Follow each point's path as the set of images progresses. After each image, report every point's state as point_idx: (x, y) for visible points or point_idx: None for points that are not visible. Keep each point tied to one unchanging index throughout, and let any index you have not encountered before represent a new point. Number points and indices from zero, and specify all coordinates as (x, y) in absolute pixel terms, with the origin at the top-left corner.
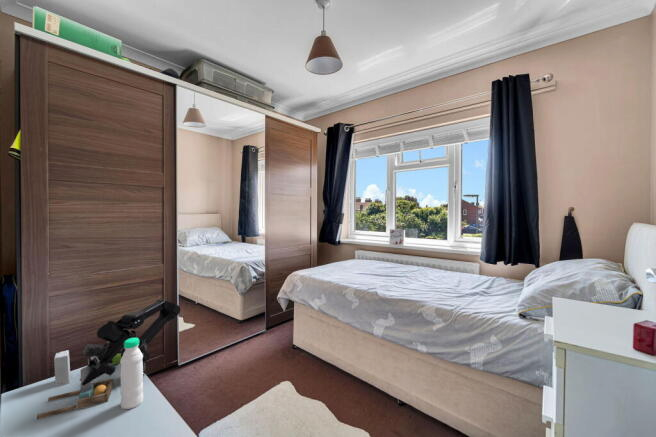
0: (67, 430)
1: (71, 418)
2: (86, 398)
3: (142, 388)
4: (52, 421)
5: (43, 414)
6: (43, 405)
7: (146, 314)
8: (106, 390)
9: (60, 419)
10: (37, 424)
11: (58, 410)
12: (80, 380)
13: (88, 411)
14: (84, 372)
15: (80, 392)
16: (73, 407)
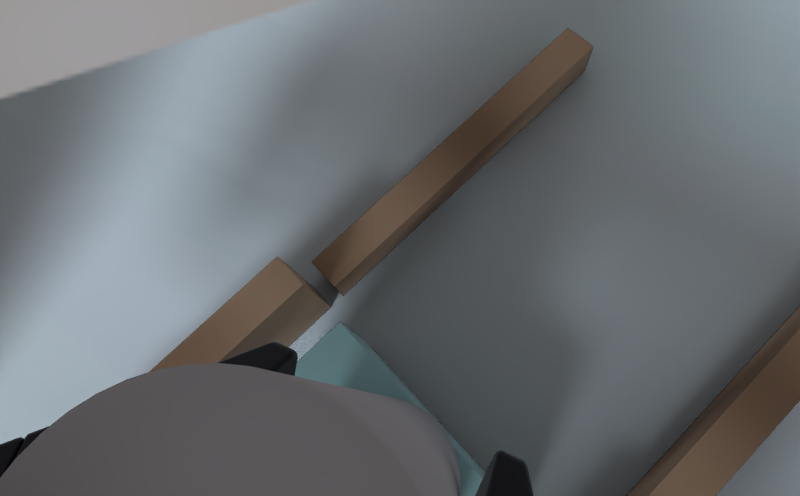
0: (110, 73)
1: (225, 173)
2: (203, 340)
3: None
4: (368, 90)
5: (526, 67)
6: (795, 201)
7: None
8: None
9: (320, 130)
10: (465, 25)
11: (436, 155)
12: (494, 462)
13: (147, 298)
14: (110, 426)
15: (394, 383)
16: (325, 249)
